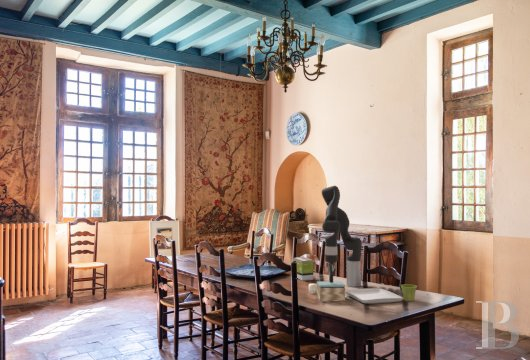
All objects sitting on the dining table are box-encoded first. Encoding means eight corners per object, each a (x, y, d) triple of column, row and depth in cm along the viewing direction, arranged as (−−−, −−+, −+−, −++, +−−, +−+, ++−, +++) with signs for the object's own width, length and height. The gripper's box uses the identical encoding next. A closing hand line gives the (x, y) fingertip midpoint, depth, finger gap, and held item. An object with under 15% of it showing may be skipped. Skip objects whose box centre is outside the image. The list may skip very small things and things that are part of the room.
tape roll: (316, 292, 300) (316, 283, 301) (318, 294, 295) (318, 285, 295) (308, 292, 300) (308, 283, 300) (309, 294, 295) (309, 285, 295)
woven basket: (340, 296, 289) (340, 283, 289) (345, 301, 276) (345, 287, 276) (316, 296, 288) (316, 283, 288) (319, 301, 275) (319, 287, 275)
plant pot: (405, 297, 286) (405, 283, 286) (419, 300, 279) (419, 285, 279) (397, 300, 280) (397, 285, 280) (411, 303, 273) (411, 288, 273)
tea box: (292, 277, 350) (292, 257, 350) (303, 276, 354) (303, 256, 355) (301, 280, 337) (302, 260, 337) (313, 279, 341) (314, 259, 341)
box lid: (340, 283, 289) (340, 281, 289) (345, 286, 276) (345, 285, 276) (316, 283, 288) (316, 281, 288) (319, 286, 275) (319, 285, 275)
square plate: (362, 306, 266) (362, 299, 266) (342, 295, 292) (342, 289, 292) (404, 303, 273) (404, 296, 273) (380, 293, 299) (380, 287, 300)
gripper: (339, 255, 274) (339, 284, 274) (335, 252, 287) (335, 280, 287) (326, 255, 274) (326, 284, 274) (323, 252, 287) (323, 280, 287)
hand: (331, 282), depth 280 cm, fingers closed
